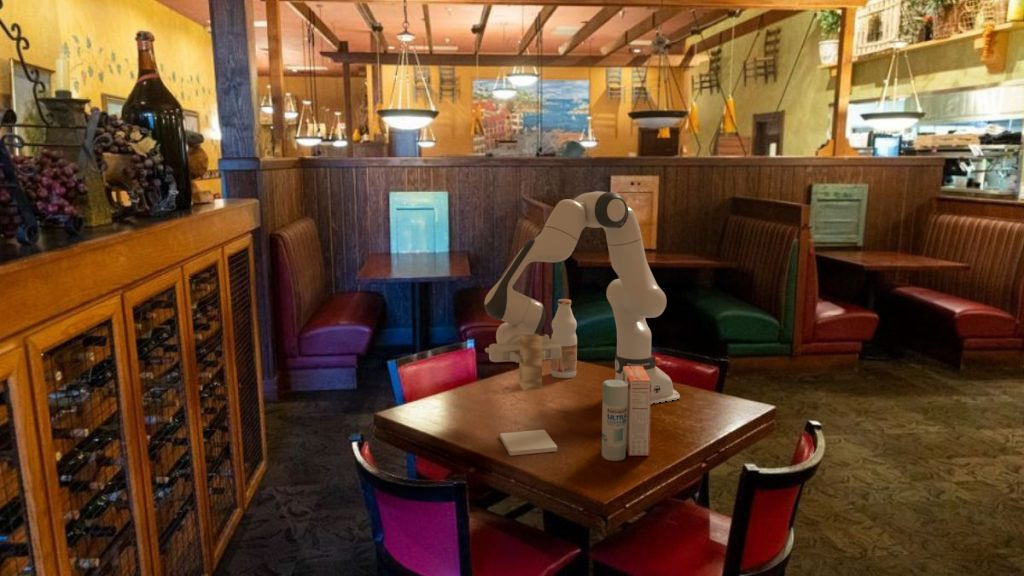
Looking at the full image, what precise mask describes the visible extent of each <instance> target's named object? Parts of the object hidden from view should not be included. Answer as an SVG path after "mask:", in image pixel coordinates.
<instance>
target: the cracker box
mask: <svg viewBox="0 0 1024 576" xmlns="http://www.w3.org/2000/svg"><path fill="white" fill-rule="evenodd" d="M623 381H625V382H627V383H628V401H627V429H626V452H627V457H628V456H629V457H639V456H640V457H649V456H650V440H651V438H650V436H651V404H650V403H651V381H650V379H649V377H648V375H647V373H646V372H645V370H644V368H643V366H623Z"/></svg>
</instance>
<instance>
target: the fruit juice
mask: <svg viewBox="0 0 1024 576" xmlns="http://www.w3.org/2000/svg"><path fill="white" fill-rule="evenodd" d="M557 305H558V307H557V310H556V312H555V315H554V318H553V319H552V321H551V329H552V334H551V338H550V339H553V340H555V341H556V342H557V343H559V344H560V345H561V358H559V359H550V374H551V376H552V377H554V378H557V379H571V378H575V377H576V375H577V370H578V369H577V367H578V366H577V364H578V363H577V362H578V361H577V360H578V359H577V358H578V357H577V356H578V336H577V334H576V330H577V327H578V324H577V320H576V318H575V316H574V314H573V310H572V308H571V305H572V300H571V299H568V298H560V299H558V300H557Z"/></svg>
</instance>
